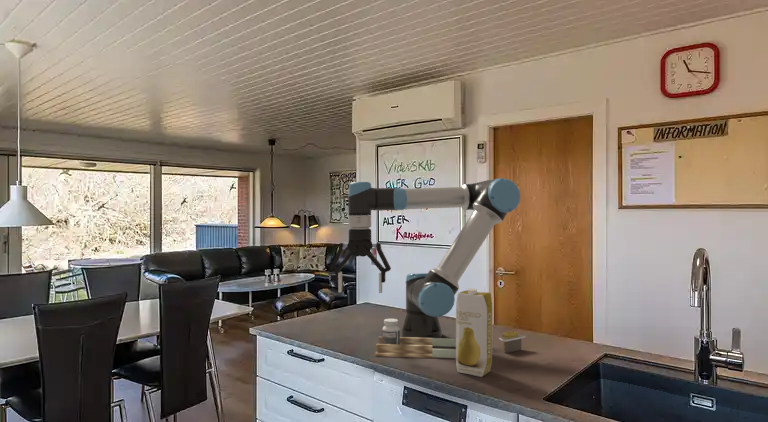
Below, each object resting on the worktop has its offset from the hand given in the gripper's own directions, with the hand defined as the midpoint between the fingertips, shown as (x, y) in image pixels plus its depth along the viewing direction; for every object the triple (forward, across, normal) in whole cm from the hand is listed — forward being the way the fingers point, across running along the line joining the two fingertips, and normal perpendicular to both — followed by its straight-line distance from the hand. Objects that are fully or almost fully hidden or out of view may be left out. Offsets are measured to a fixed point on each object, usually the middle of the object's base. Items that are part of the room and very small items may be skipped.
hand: (360, 292), depth 165 cm
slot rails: (+19, +15, 0) cm, 24 cm away
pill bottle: (+19, +10, 0) cm, 22 cm away
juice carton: (+19, +36, -19) cm, 45 cm away
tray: (+19, +31, +1) cm, 36 cm away
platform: (+20, +50, +5) cm, 54 cm away
